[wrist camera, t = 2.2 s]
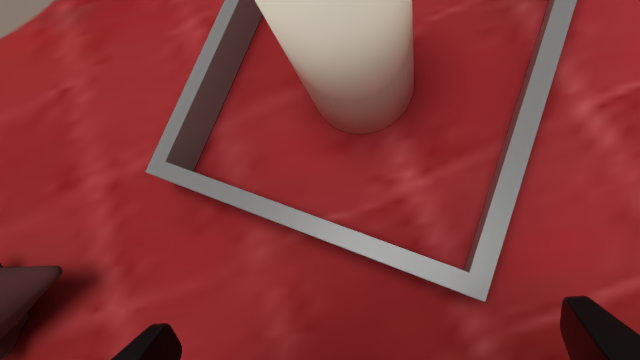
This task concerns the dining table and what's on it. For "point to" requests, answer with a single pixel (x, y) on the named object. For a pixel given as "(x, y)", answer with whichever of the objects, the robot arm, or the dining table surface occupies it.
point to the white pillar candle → (349, 57)
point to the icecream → (20, 298)
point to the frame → (184, 152)
